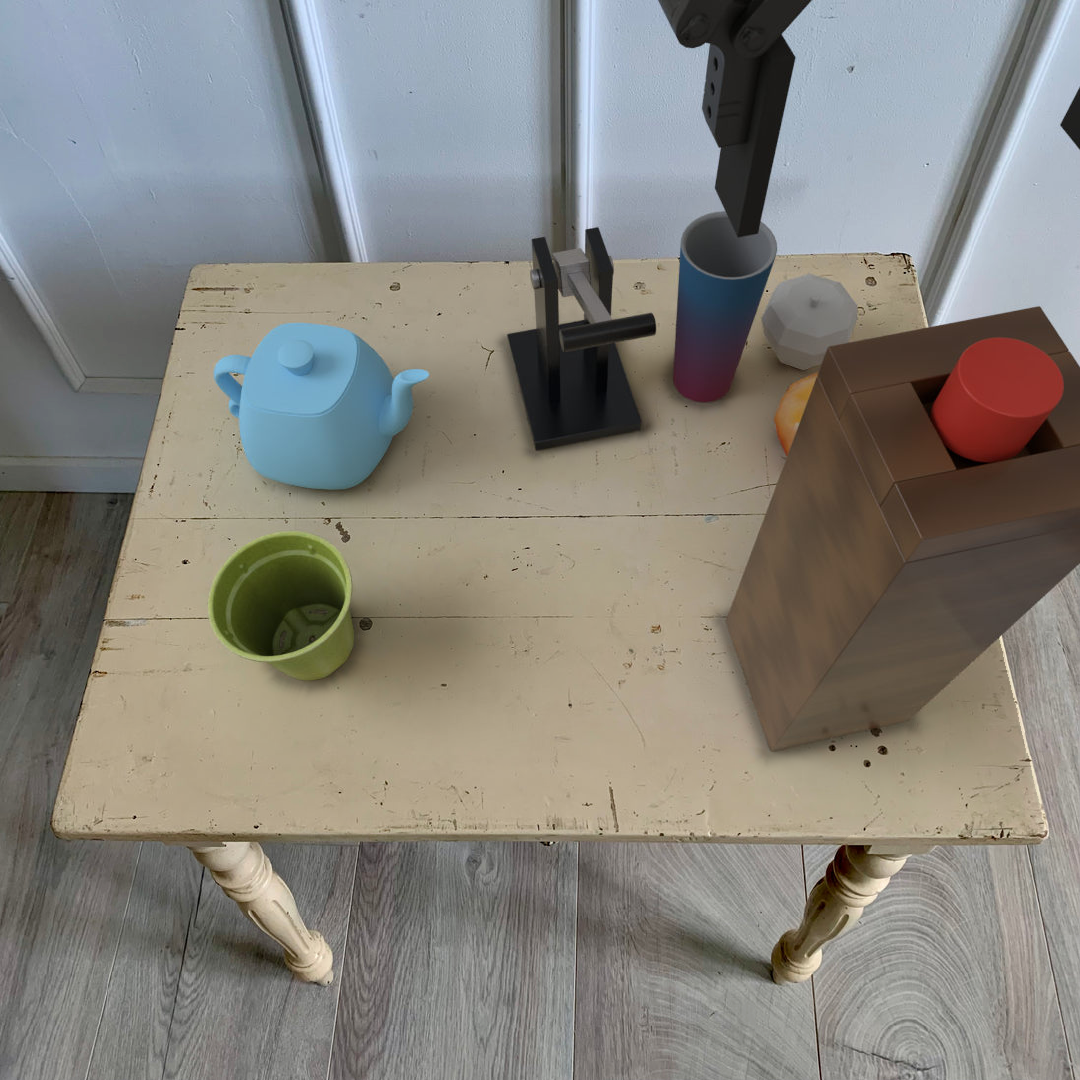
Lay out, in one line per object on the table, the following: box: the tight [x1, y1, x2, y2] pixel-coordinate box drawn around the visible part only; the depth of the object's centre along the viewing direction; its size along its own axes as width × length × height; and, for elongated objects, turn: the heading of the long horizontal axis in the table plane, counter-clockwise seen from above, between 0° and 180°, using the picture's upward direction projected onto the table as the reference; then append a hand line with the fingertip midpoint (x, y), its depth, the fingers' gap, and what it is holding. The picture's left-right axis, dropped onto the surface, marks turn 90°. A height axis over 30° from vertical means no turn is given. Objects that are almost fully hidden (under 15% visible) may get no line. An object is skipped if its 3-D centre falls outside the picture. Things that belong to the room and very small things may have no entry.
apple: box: [760, 273, 858, 371], centre depth 74 cm, size 8×8×7 cm
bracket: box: [506, 226, 643, 451], centre depth 70 cm, size 12×9×15 cm
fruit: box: [773, 372, 818, 457], centre depth 70 cm, size 8×8×8 cm
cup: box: [672, 210, 778, 403], centre depth 70 cm, size 7×7×15 cm
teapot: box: [213, 322, 430, 491], centre depth 70 cm, size 13×11×18 cm
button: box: [931, 338, 1064, 463], centre depth 36 cm, size 4×4×3 cm
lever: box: [551, 247, 657, 352], centre depth 61 cm, size 13×6×2 cm, turn 12°
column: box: [725, 305, 1080, 752], centre depth 50 cm, size 10×10×30 cm
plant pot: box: [207, 530, 355, 681], centre depth 62 cm, size 9×9×9 cm
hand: (913, 178), depth 33 cm, fingers open, 13 cm apart
